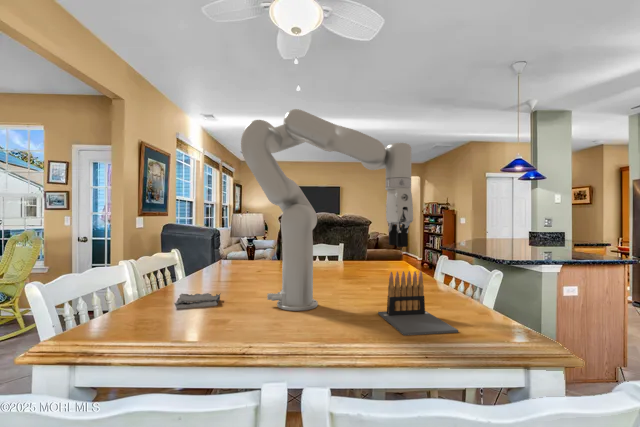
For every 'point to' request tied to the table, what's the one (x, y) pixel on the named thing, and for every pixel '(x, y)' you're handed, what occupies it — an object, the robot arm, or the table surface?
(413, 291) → the ammunition clip
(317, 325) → the table surface
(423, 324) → the mat
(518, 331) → the table surface
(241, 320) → the table surface
